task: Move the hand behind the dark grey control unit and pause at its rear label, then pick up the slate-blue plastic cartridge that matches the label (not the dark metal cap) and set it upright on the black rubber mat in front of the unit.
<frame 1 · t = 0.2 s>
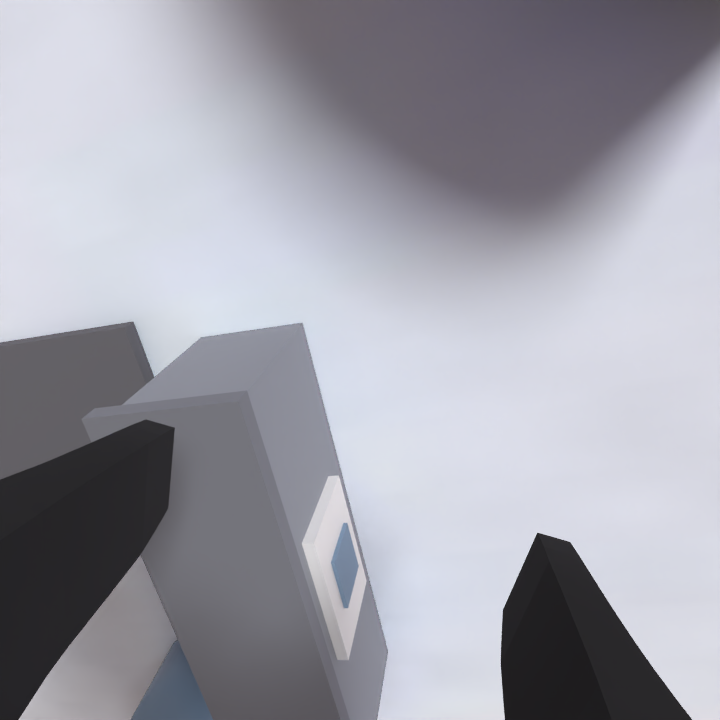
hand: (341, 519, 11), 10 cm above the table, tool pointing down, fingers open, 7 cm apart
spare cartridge: (207, 664, 29), on the table
control unit: (303, 510, 24), on the table
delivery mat: (72, 446, 25), on the table
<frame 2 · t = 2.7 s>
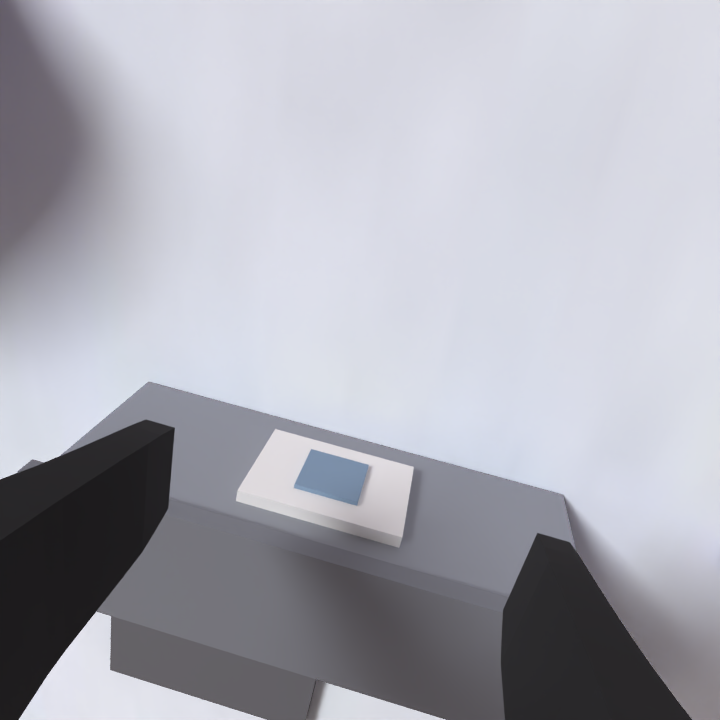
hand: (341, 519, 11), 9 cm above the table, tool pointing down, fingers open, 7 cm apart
control unit: (339, 479, 22), on the table
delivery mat: (219, 619, 27), on the table
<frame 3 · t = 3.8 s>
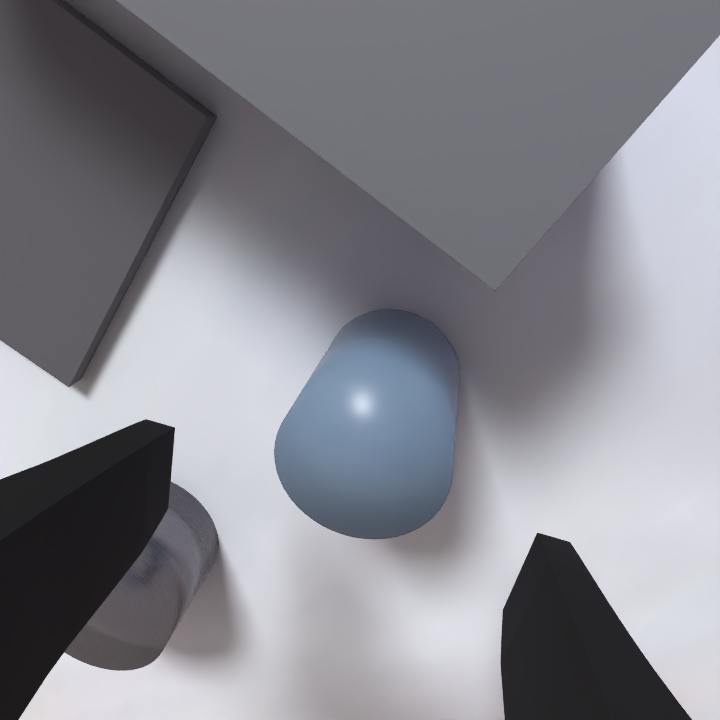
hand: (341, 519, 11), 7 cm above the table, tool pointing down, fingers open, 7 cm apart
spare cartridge: (391, 373, 17), on the table
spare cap: (156, 529, 22), on the table
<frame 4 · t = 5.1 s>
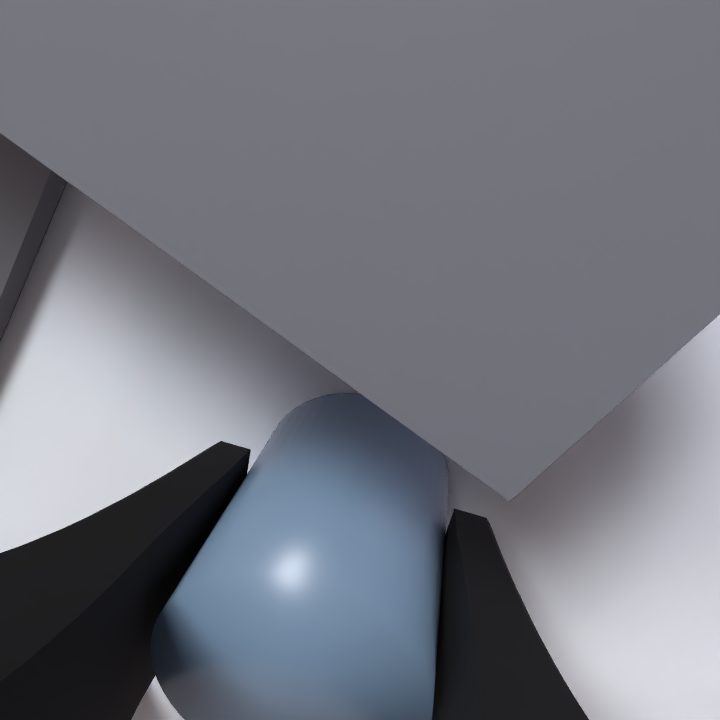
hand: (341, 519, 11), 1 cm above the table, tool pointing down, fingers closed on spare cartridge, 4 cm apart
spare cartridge: (355, 476, 12), on the table, touching gripper
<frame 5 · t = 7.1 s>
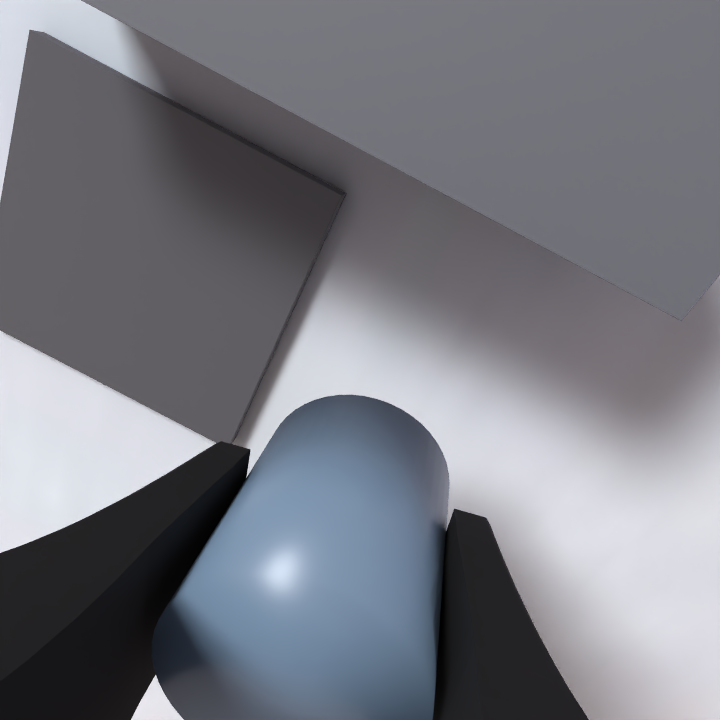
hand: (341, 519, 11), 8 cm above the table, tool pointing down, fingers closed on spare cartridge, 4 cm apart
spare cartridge: (355, 477, 12), point 7 cm above the table, touching gripper
control unit: (383, 17, 15), on the table
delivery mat: (150, 260, 19), on the table
when the fingers open (4 cm above the table, at t = 9.1 s): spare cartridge drops 2 cm, resting on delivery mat.
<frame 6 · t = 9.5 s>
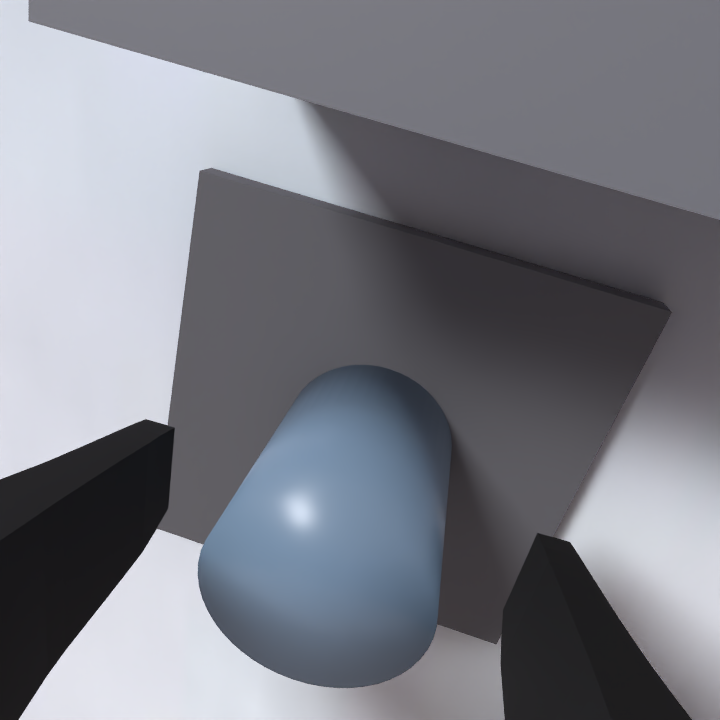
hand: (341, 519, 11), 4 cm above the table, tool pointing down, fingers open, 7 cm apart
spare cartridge: (367, 440, 14), point 1 cm above the table, touching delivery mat
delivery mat: (371, 426, 14), on the table
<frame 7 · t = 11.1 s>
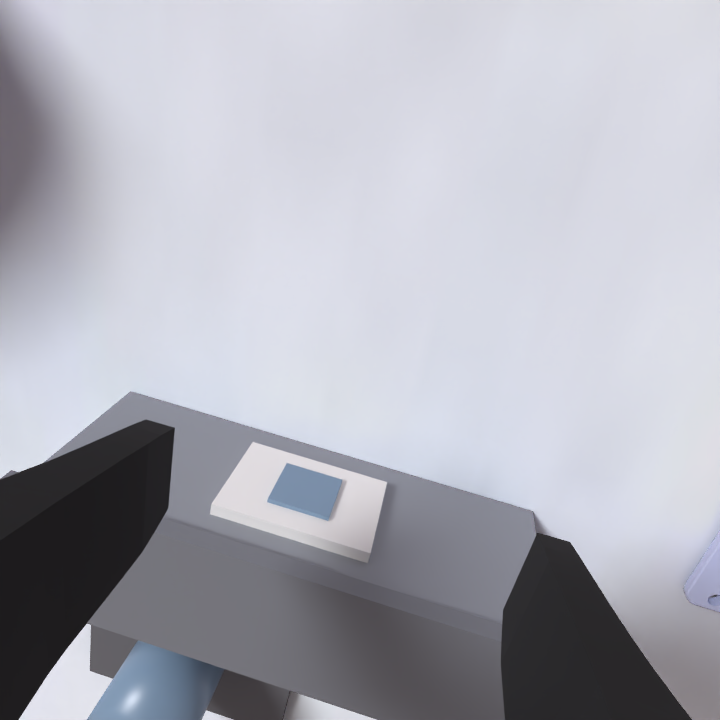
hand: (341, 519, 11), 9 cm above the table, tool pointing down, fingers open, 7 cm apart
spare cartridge: (192, 636, 26), point 1 cm above the table, touching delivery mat
control unit: (316, 490, 23), on the table
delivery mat: (197, 623, 27), on the table
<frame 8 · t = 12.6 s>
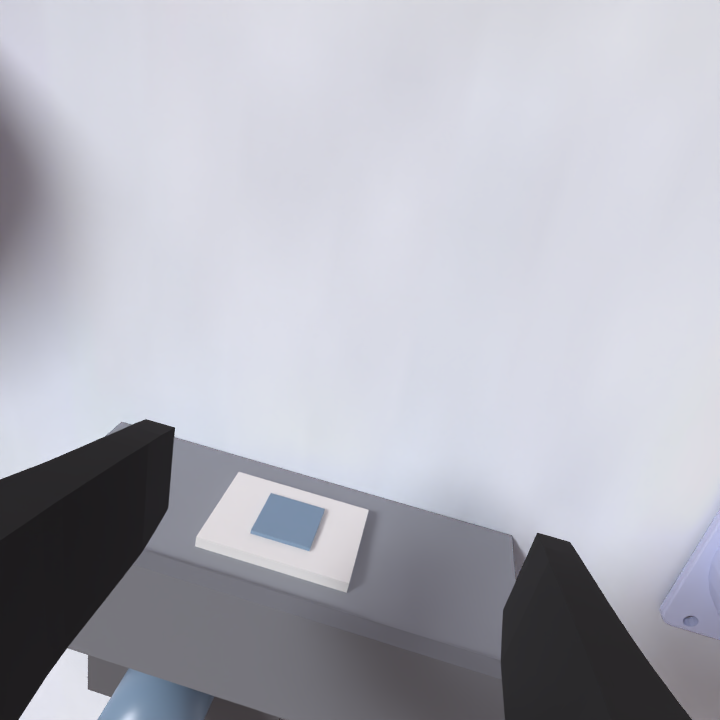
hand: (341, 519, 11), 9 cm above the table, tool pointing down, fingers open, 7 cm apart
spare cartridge: (185, 656, 27), point 1 cm above the table, touching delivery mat
control unit: (302, 516, 23), on the table
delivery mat: (191, 643, 28), on the table
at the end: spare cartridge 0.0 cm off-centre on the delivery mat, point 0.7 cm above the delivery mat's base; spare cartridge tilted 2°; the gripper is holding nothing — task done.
